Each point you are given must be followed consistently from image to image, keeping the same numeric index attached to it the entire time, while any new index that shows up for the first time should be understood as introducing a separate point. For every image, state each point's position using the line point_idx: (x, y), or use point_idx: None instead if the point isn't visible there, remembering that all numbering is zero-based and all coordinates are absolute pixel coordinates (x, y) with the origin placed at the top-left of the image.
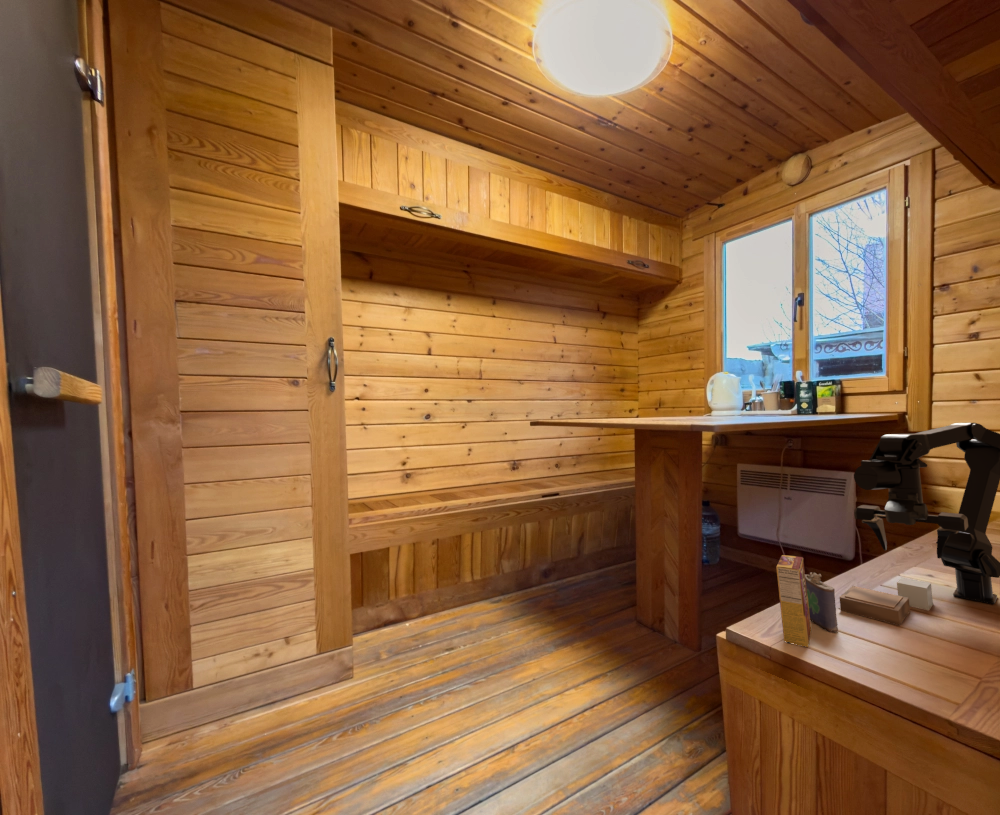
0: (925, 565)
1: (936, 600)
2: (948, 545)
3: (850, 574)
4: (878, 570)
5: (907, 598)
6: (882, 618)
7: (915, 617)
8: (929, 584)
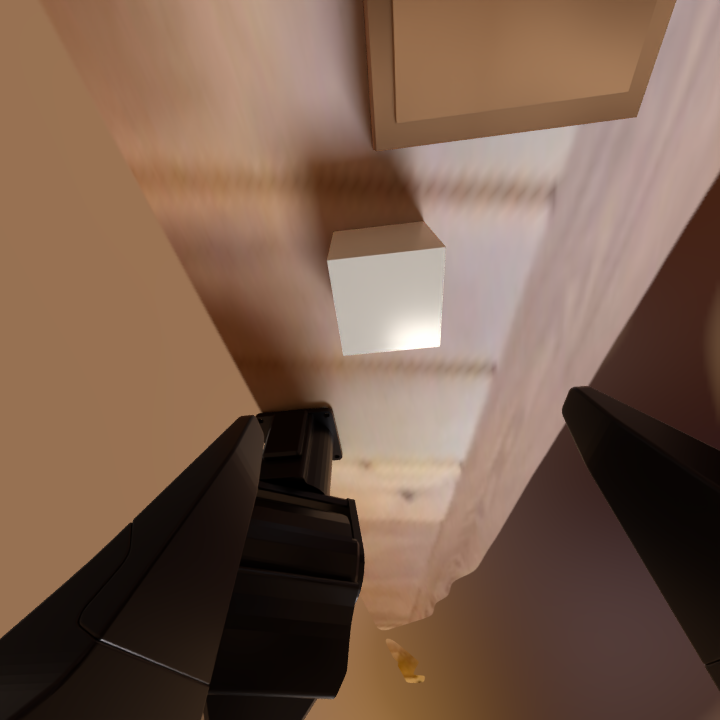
0: (426, 533)
1: None
2: (308, 581)
3: None
4: (505, 466)
5: (377, 129)
6: None
7: (336, 72)
8: (339, 328)
